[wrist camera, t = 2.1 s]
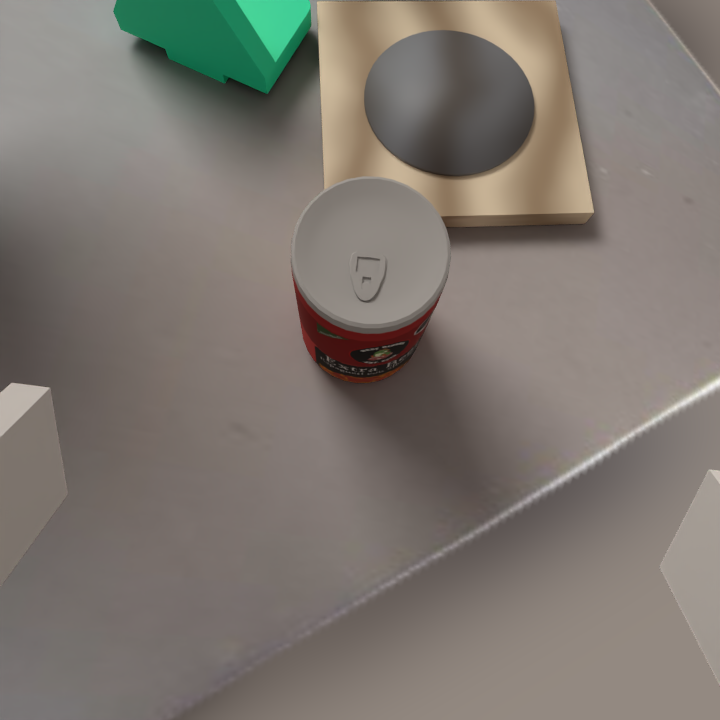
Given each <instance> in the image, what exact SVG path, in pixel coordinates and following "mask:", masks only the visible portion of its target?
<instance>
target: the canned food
mask: <svg viewBox="0 0 720 720" xmlns="http://www.w3.org/2000/svg"><path fill="white" fill-rule="evenodd" d="M450 260H451V251H450V240H449V237H448V233H447V229H446V227H445V224H444V222H443V220H442V218H441V216H440V214H439V213H438V212H437V210H436V209H435V208H434V206H433V205H432V204H431V203H430V202H429V201H428V200H427V199H426V198H425V197H424V196H423V195H422V194H420V193H419V192H418V191H416V190H414V189H413V188H411V187H409V186H408V185H406V184H403V183H401V182H398V181H395V180H393V179H388V178H383V177H368V176H363V177H357V178H351V179H347V180H344V181H341V182H339V183H336V184H334V185H332V186H330V187H328V188H327V189H325V190H323V191H322V192H321V193H319V194H318V195H317V196H316V197H315V198H314V199H313V200H312V201H310V203H309V204H308V205H307V207H306V208H305V209H304V211H303V212H302V213H301V216H300V218H299V220H298V222H297V224H296V226H295V229H294V234H293V238H292V245H291V267H292V276H293V281H294V287H295V293H296V299H297V305H298V311H299V316H300V322H301V328H302V334H303V339H304V342H305V344H306V347H307V350H308V351H309V353H310V355H311V356H312V358H313V359H314V361H315V362H316V363H317V364H318V365H319V366H320V367H321V368H322V369H323V370H325V371H326V372H328V373H329V374H331V375H332V376H334V377H337V378H339V379H342V380H344V381H349V382H354V383H369V382H374V381H379V380H382V379H384V378H386V377H389V376H391V375H392V374H394V373H395V372H397V371H398V370H400V369H401V368H402V367H403V366H404V365H405V364H406V363H407V362H408V361H409V359H410V358H411V356H412V354H413V353H414V351H415V349H416V347H417V345H418V343H419V341H420V339H421V337H422V335H423V333H424V330H425V328H426V326H427V324H428V322H429V320H430V318H431V316H432V314H433V311H434V309H435V307H436V305H437V303H438V301H439V298H440V296H441V293H442V291H443V288H444V286H445V283H446V281H447V278H448V272H449V266H450Z"/></svg>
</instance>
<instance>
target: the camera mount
mask: <svg viewBox="0 0 720 720" xmlns="http://www.w3.org/2000/svg"><path fill="white" fill-rule="evenodd" d="M113 12H114V14H115V17H116V19H117V21H118V24H119V26H120V28H121V30H123V31H126V32H128V33H130V34H133V35H135V36H137V37H139V38H142V39H144V40H146V41H148V42H151V43H153V44H155V45H157V46H160V47H162V48H164V49H165V50H166V53H167V56H168V58H169V59H170V60H173V61H175V62H177V63H179V64H182V65H184V66H186V67H188V68H191V69H193V70H195V71H197V72H200V73H202V74H204V75H207V76H209V77H211V78H213V79H216V80H218V81H220V82H222V83H226V81H227V80H228V78H229V77H230V78H232V79H234V80H237V81H239V82H241V83H243V84H246V85H248V86H250V87H252V88H255V89H257V90H259V91H261V92H264V93H266V94H268V92H269V91H270V89H271V88H272V86H273V85H274V83H275V82H276V80H277V79H278V77H279V75H280V74H281V72H282V71H283V69H284V68H285V66H286V65H287V63H288V62H289V60H290V58H291V57H292V55H293V54H294V52H295V51H296V49H297V48H298V46H299V45H300V43H301V41H302V40H303V38H304V37H305V35H306V34H307V32H308V31H309V29H310V27H311V6H310V2H309V0H117V1H116V4H115V8H114V11H113Z"/></svg>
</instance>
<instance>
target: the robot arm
mask: <svg viewBox="0 0 720 720" xmlns="http://www.w3.org/2000/svg"><path fill="white" fill-rule="evenodd" d="M67 495H68V491H67V485H66V479H65V473H64V467H63V461H62V455H61V449H60V442H59V436H58V430H57V424H56V418H55V412H54V406H53V400H52V394H51V388H50V387H42V386H33V385H25V384H17V383H11V384H10V385H9V386H7V387H6V388H5V389H4V390H3V391H2V392H1V393H0V587H1V586H2V584H3V583H4V582H5V580H6V579H7V578H8V576H9V575H10V573H11V572H12V571H13V569H14V568H15V567H16V565H17V564H18V562H19V561H20V560H21V558H22V557H23V556H24V554H25V553H26V551H27V550H28V549H29V547H30V546H31V545H32V543H33V542H34V540H35V539H36V538H37V536H38V535H39V534H40V532H41V531H42V529H43V528H44V527H45V525H46V524H47V523H48V521H49V520H50V518H51V517H52V516H53V514H54V513H55V512H56V510H57V509H58V507H59V506H60V505H61V503H62V502H63V501H64V499H65V498H66V496H67ZM659 567H660V569H661V571H662V573H663V575H664V577H665V579H666V581H667V583H668V585H669V587H670V589H671V591H672V593H673V595H674V597H675V599H676V601H677V603H678V605H679V607H680V609H681V611H682V613H683V615H684V617H685V619H686V621H687V623H688V625H689V627H690V629H691V631H692V633H693V635H694V636H695V639H696V640H697V642H698V644H699V646H700V648H701V650H702V652H703V654H704V656H705V658H706V660H707V662H708V664H709V666H710V668H711V670H712V672H713V674H714V676H715V677H716V680H717V682H718V684H719V686H720V471H717V470H708V472H707V474H706V476H705V478H704V480H703V482H702V484H701V486H700V488H699V490H698V492H697V494H696V496H695V498H694V500H693V502H692V503H691V505H690V507H689V510H688V511H687V513H686V515H685V517H684V519H683V521H682V523H681V525H680V527H679V529H678V531H677V533H676V535H675V537H674V539H673V541H672V543H671V545H670V547H669V549H668V551H667V552H666V554H665V556H664V558H663V560H662V563H661V564H660V566H659Z"/></svg>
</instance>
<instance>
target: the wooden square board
mask: <svg viewBox="0 0 720 720" xmlns="http://www.w3.org/2000/svg"><path fill="white" fill-rule="evenodd" d="M317 17H318V42H319V67H320V92H321V117H322V142H323V167H324V190H325V189H327V188H328V187H330V186H332V185H334V184H336V183H339V182H341V181H344V180H347V179H351V178H357V177H363V176H368V177H383V178H388V179H393V180H395V181H398V182H401V183H403V184H406V185H408V186H409V187H411V188H413V189H414V190H416V191H418V192H419V193H420V194H422V195H423V196H424V197H425V198H426V199H427V200H428V201H429V202H430V203H431V204H432V205H433V206H434V208H435V209H436V210H437V212H438V213H439V214H440V216H441V218H442V220H443V222H444V224H445V227H478V226H518V225H558V224H585V223H586V222H587V221H588V219H589V218H590V217H591V216H592V215H593V213H594V209H593V204H592V198H591V193H590V187H589V182H588V176H587V171H586V165H585V160H584V154H583V149H582V144H581V138H580V133H579V127H578V122H577V116H576V111H575V105H574V100H573V94H572V89H571V83H570V78H569V72H568V67H567V61H566V56H565V50H564V45H563V40H562V34H561V29H560V23H559V18H558V12H557V7H556V1H317Z"/></svg>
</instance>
